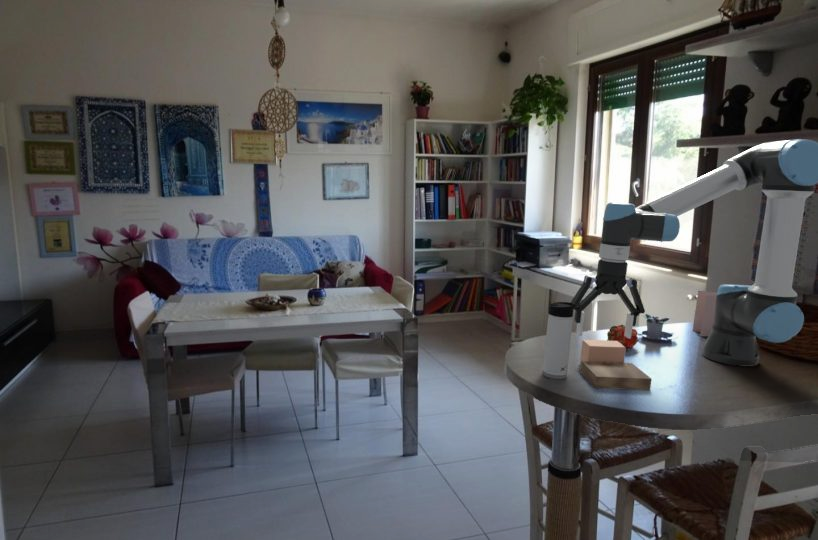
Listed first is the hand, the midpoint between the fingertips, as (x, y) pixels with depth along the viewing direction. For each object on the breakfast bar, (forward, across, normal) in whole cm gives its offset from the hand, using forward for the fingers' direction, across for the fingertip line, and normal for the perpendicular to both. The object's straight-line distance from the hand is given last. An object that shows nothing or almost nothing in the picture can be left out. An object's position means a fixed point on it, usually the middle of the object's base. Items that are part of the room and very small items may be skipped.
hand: (603, 335), depth 154 cm
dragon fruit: (+9, +14, +20) cm, 26 cm away
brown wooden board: (+9, 0, -9) cm, 13 cm away
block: (+9, +1, 0) cm, 9 cm away
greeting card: (+9, +54, +40) cm, 68 cm away
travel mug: (+10, -14, -7) cm, 19 cm away
